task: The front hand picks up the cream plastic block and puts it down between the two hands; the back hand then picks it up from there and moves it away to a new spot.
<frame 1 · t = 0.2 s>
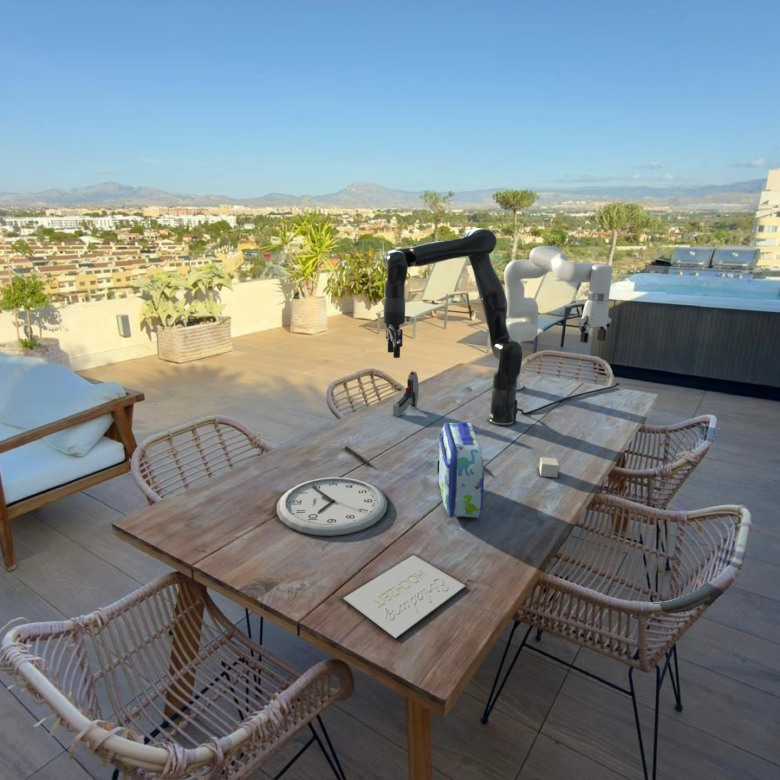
front hand: (393, 354, 187), 29 cm above the table, tool pointing down, fingers open, 8 cm apart
back hand: (592, 341, 206), 31 cm above the table, tool pointing down, fingers open, 9 cm apart
lunch box: (457, 500, 146), on the table
toy gun: (405, 411, 216), on the table
wall clock: (332, 505, 143), on the table
invitation card: (405, 593, 109), on the table
block: (548, 473, 164), on the table
fork: (476, 464, 169), on the table
brown thin rod: (356, 456, 173), on the table
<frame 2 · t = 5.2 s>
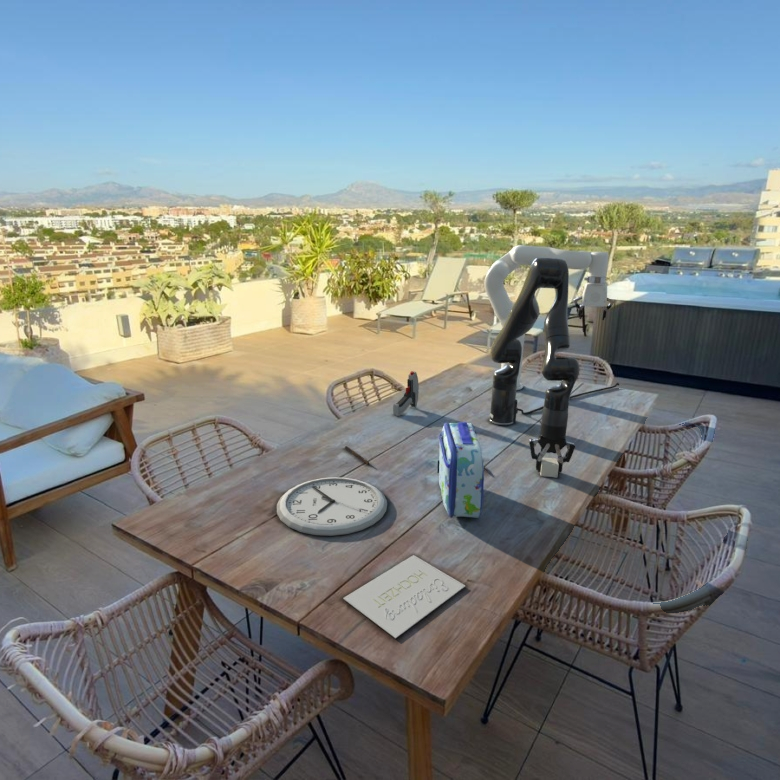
front hand: (548, 471, 164), 1 cm above the table, tool pointing down, fingers closed on block, 5 cm apart
back hand: (591, 319, 236), 35 cm above the table, tool pointing down, fingers open, 9 cm apart
block: (548, 473, 164), on the table, touching front hand
everything else where it was.
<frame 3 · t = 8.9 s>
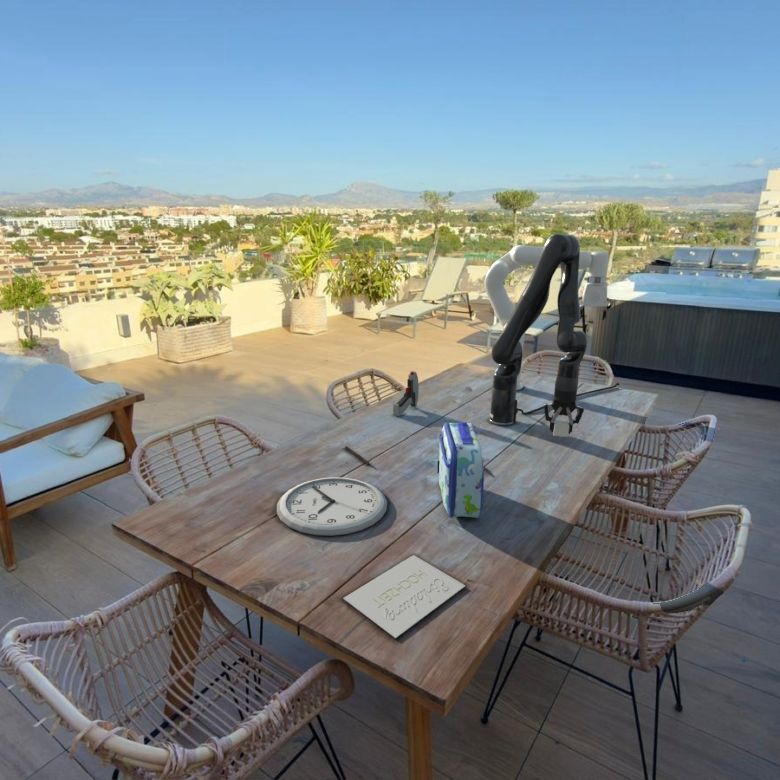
front hand: (560, 432, 188), 3 cm above the table, tool pointing down, fingers closed on block, 5 cm apart
back hand: (591, 319, 236), 35 cm above the table, tool pointing down, fingers open, 9 cm apart
block: (560, 433, 188), point 3 cm above the table, touching front hand
everything else where it was.
when the front hand's fingers open (1 cm above the table, at t = 12.7 s): block stays where it is, on the table.
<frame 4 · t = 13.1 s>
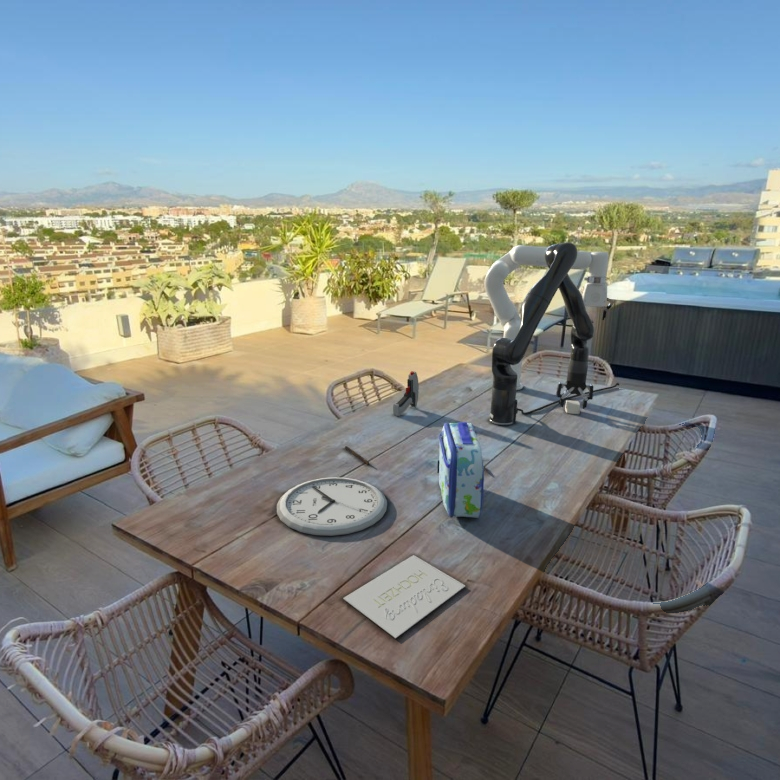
front hand: (572, 407, 219), 2 cm above the table, tool pointing down, fingers open, 8 cm apart
back hand: (591, 319, 236), 35 cm above the table, tool pointing down, fingers open, 9 cm apart
block: (571, 411, 220), on the table
everything else where it was.
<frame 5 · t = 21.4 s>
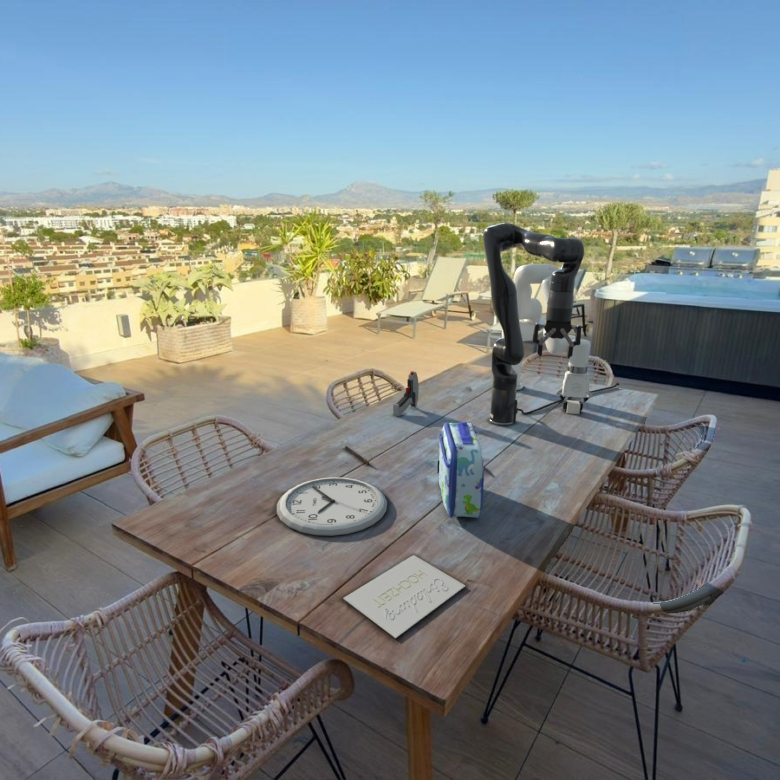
front hand: (554, 357, 165), 34 cm above the table, tool pointing down, fingers open, 8 cm apart
back hand: (572, 410, 219), 0 cm above the table, tool pointing down, fingers closed on block, 5 cm apart
block: (572, 411, 220), on the table, touching back hand
everything else where it was.
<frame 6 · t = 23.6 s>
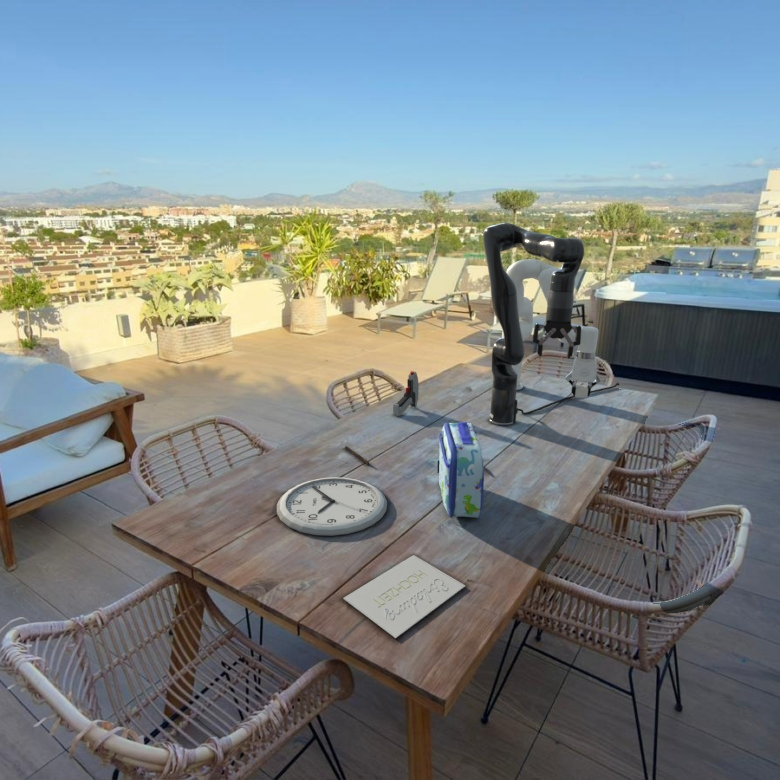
front hand: (554, 357, 165), 34 cm above the table, tool pointing down, fingers open, 8 cm apart
back hand: (580, 394, 232), 3 cm above the table, tool pointing down, fingers closed on block, 5 cm apart
block: (580, 395, 232), point 3 cm above the table, touching back hand
everything else where it was.
when the back hand's fingers open (1 cm above the table, at t = 26.0 s): block stays where it is, on the table.
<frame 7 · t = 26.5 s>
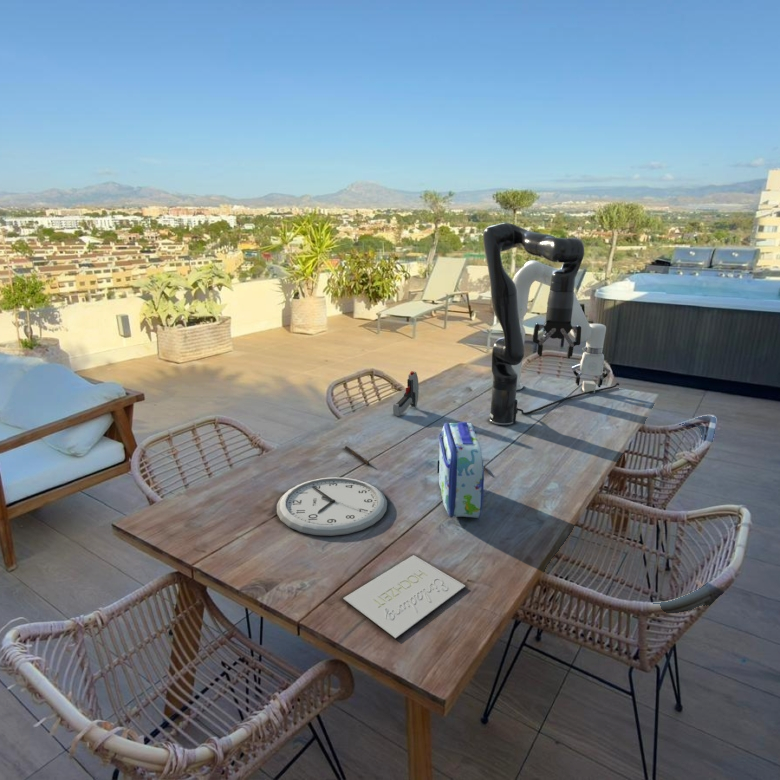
front hand: (554, 357, 165), 34 cm above the table, tool pointing down, fingers open, 8 cm apart
back hand: (588, 385, 248), 3 cm above the table, tool pointing down, fingers open, 9 cm apart
block: (588, 390, 248), on the table
everything else where it was.
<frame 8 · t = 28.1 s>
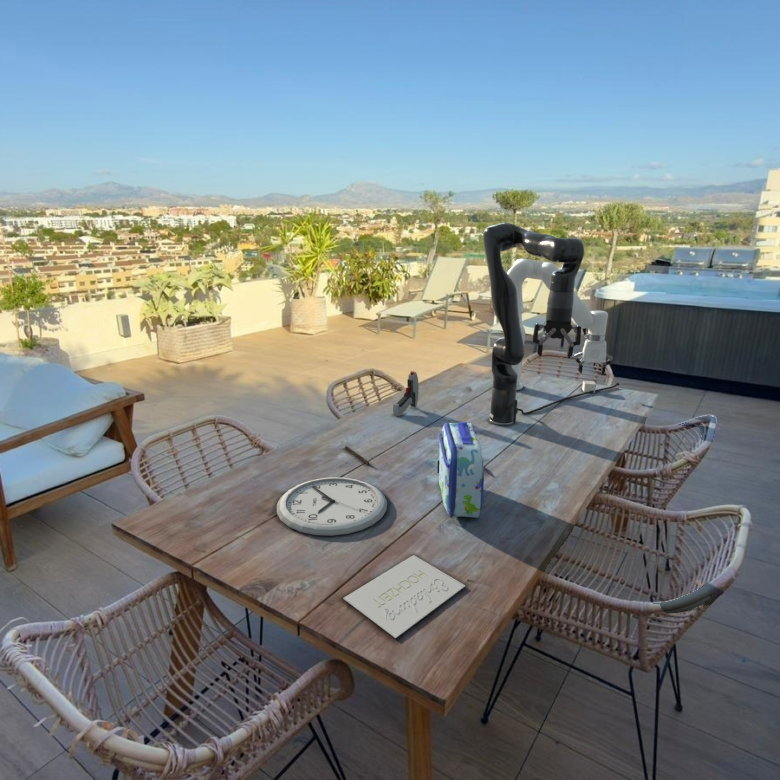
front hand: (554, 357, 165), 34 cm above the table, tool pointing down, fingers open, 8 cm apart
back hand: (591, 373, 246), 9 cm above the table, tool pointing down, fingers open, 9 cm apart
nothing on the table moved.
at the end: block inside the target area (0.2 cm from its centre), on the table; block tilted 0°; the two hands never held the block at the same time; the front hand is holding nothing; the back hand is holding nothing; block at rest at the end (0.0 cm/s) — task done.
